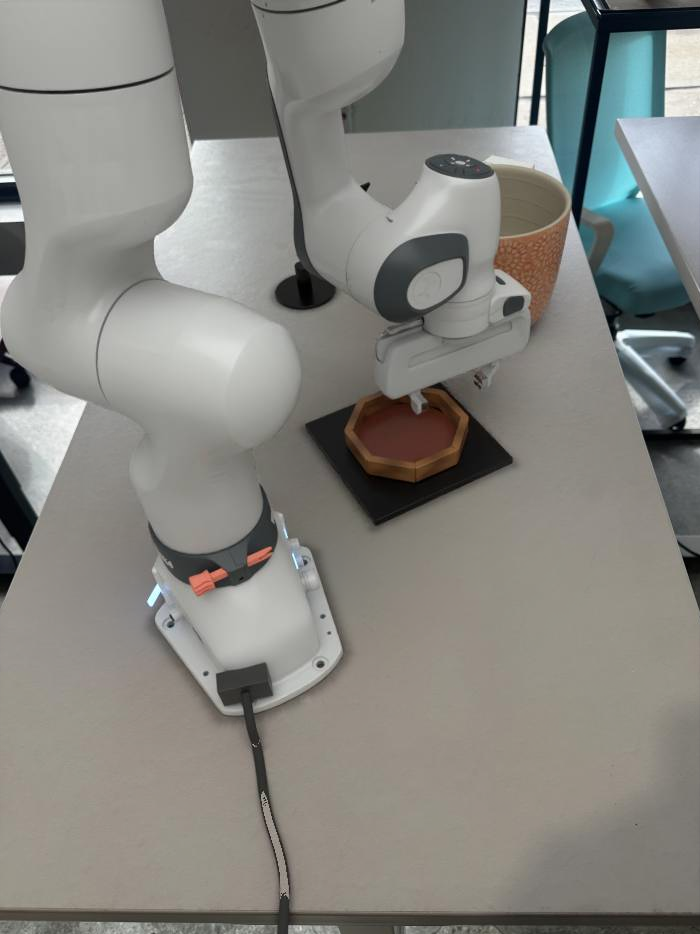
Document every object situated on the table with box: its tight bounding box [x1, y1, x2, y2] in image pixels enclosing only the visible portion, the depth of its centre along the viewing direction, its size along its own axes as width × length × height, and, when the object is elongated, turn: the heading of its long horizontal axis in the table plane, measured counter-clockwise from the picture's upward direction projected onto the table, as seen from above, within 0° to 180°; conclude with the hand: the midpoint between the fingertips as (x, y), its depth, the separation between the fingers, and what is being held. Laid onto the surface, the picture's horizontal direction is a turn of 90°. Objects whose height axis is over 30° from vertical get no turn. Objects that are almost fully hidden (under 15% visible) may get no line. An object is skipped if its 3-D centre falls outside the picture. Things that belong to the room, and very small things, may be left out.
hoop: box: [344, 388, 469, 482], centre depth 95 cm, size 15×15×2 cm
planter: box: [486, 164, 573, 327], centre depth 107 cm, size 21×21×19 cm
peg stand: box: [274, 260, 337, 310], centre depth 119 cm, size 10×10×5 cm
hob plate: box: [304, 382, 514, 526], centre depth 96 cm, size 20×20×1 cm
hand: (451, 397), depth 94 cm, fingers open, 8 cm apart
